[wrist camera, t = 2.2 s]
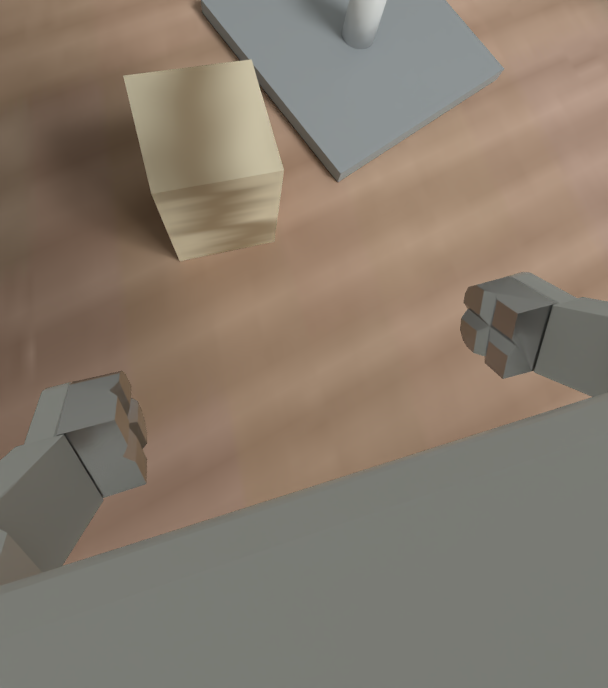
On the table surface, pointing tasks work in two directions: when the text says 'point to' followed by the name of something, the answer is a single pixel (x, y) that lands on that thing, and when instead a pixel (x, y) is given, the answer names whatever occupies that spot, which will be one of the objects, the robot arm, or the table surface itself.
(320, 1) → the post base
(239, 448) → the table surface
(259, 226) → the beige block
